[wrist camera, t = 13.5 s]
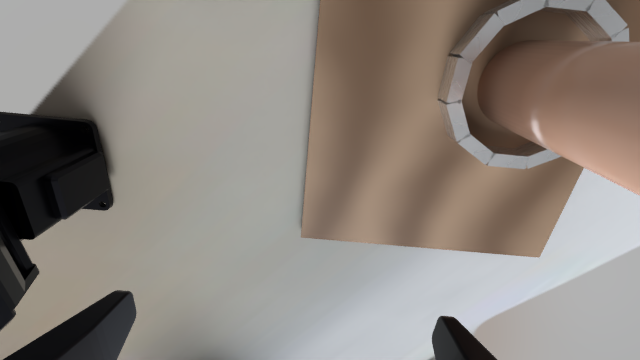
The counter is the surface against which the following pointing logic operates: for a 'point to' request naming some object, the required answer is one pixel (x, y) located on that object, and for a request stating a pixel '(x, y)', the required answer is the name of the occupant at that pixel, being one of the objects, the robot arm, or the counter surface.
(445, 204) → the walnut board
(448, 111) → the steel collar
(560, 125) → the beige rounded cylinder
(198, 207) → the counter surface
